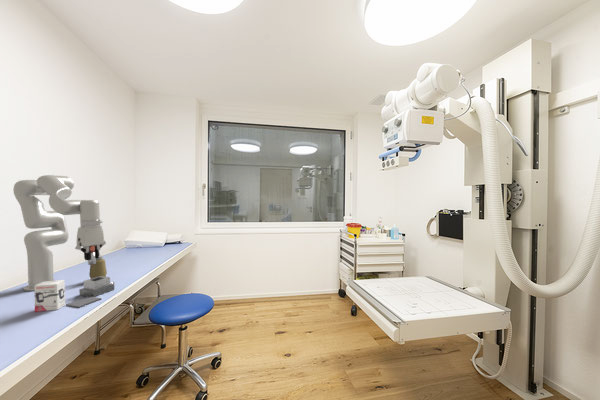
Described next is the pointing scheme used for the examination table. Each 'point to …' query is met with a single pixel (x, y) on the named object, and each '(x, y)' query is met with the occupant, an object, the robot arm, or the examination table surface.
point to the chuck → (96, 286)
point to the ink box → (49, 295)
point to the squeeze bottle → (98, 268)
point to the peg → (92, 255)
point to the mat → (83, 301)
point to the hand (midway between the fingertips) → (91, 258)
